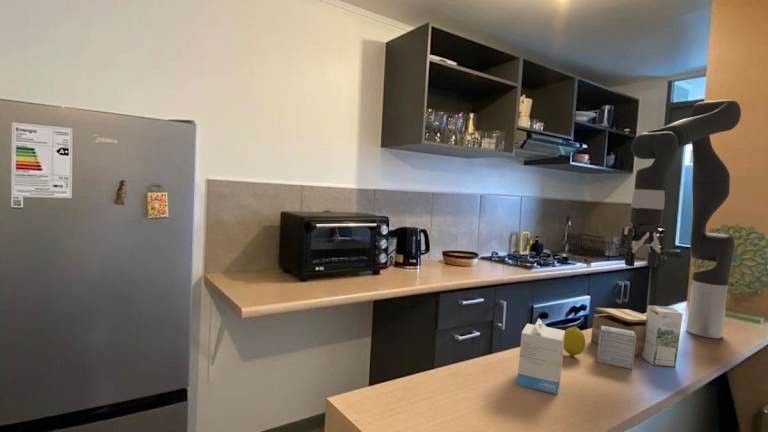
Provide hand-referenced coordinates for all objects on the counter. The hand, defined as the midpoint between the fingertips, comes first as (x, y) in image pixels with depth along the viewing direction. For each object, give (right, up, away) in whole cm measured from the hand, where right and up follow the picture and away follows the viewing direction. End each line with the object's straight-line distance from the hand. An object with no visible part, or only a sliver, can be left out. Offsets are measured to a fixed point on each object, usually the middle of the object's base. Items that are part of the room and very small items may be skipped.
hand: (640, 266), depth 114 cm
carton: (-1, -24, +5) cm, 24 cm away
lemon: (-21, -23, -5) cm, 32 cm away
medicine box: (-11, -24, -7) cm, 28 cm away
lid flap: (-1, -15, +5) cm, 16 cm away
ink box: (-36, -24, -21) cm, 48 cm away
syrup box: (+2, -25, -5) cm, 25 cm away
